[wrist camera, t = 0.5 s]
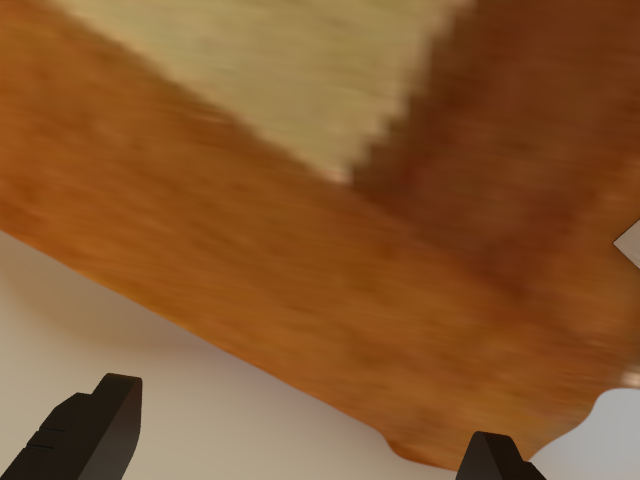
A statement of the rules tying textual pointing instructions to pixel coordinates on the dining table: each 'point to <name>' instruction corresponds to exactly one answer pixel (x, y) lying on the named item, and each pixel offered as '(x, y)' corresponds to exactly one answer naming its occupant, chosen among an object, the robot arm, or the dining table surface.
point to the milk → (630, 243)
